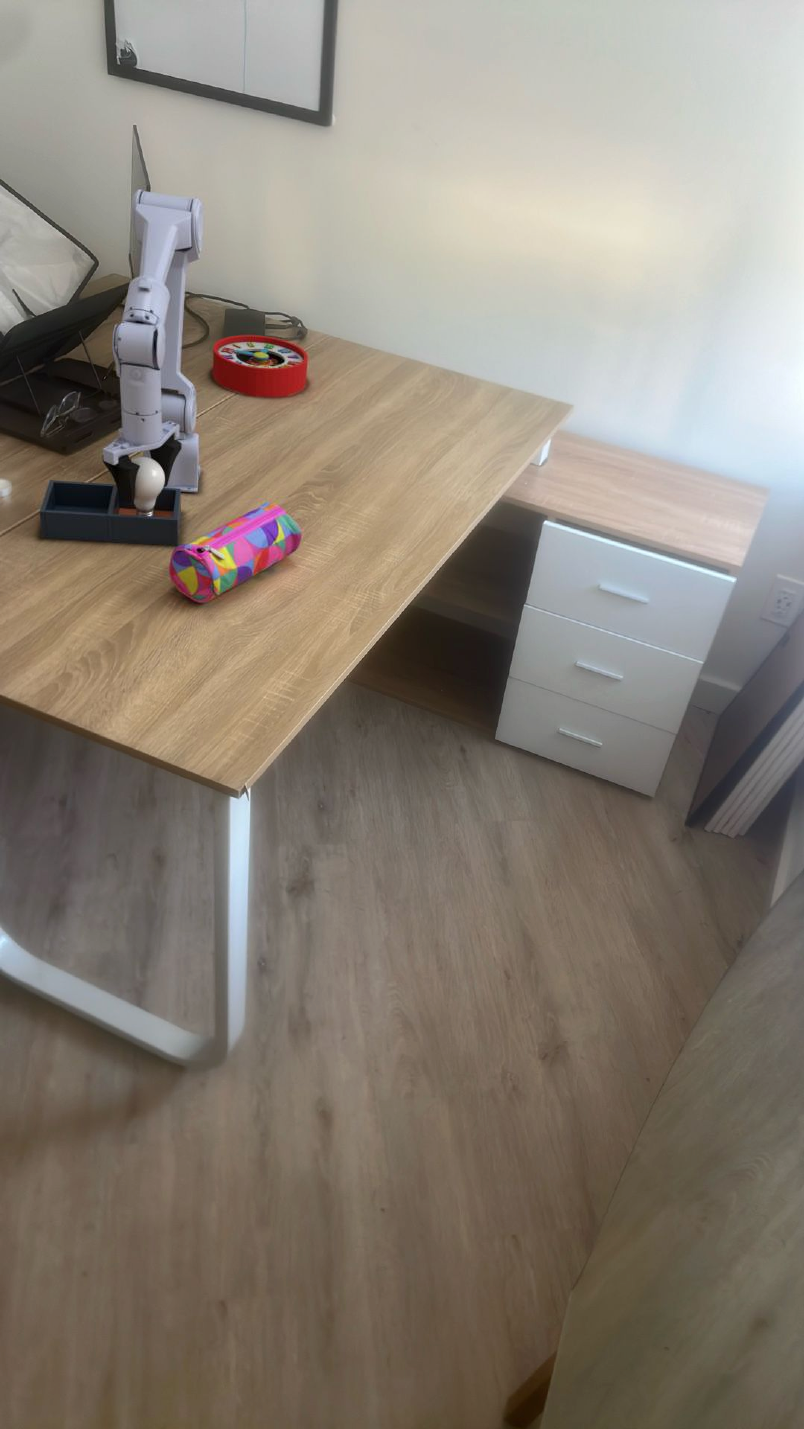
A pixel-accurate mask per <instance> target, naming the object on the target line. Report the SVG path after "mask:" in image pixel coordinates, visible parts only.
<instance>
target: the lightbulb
mask: <svg viewBox="0 0 804 1429" xmlns="http://www.w3.org/2000/svg"><path fill="white" fill-rule="evenodd" d="M131 462H133V463H135V464H138V465H140V468H139V470H138V473H137V476H136V482H135V499H134V504H135V506H136V515H137V516H153V517H154V514H153V513H154V512H153V511H154V505H155V502H156V498H157V496H158V495H159V494H160V492H161V491H162V489H163V487H164V484H165V475H164V471H163V469H162V467H161V466H160V465H159V464H158V463H157V462H156V461H155V460H153V459H151V458H149V457H143V456H135V457H134V458H131Z"/></svg>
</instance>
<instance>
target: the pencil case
mask: <svg viewBox="0 0 804 1429" xmlns="http://www.w3.org/2000/svg"><path fill="white" fill-rule="evenodd" d="M301 540H302V529H301V527H300V525H299V523H298V522H297V521H296V520H295V519H294V518H292V517H291V516H290V515H289V514H288V513H287V512H286V511H285V509H284V508H283V507H280V506H279V505H277V504H276V503H274V502H271V501H266V502H264V503H262V504H261V505H260V506H258V507H257V508H256V509H253V510H250V511H248V512H246V513H245V514H243V515H241V516H239V517H237V518H234V519H233V520H231V521H229V522H227V523H225V524H223V525H221V526H219V527H217V528H215V529H213V530H212V531H210V532H208V533H206V534H205V535H203V536H201V537H199V538H197V539H196V540H194V541H193V542H190V543H188V544H187V543H185V544H180V545H178V546H177V547H175V548H174V549H173V551H172V552H171V555H170V559H169V560H170V561H169V565H168V573H169V577H170V580H171V583H172V584H173V585H174V587H175V588H176V589H177V591H178V592H180V593H181V594H183V595H184V596H186V597H187V598H189V599H190V600H191V601H194V602H196V603H198V604H206V603H209V602H210V601H212V600H213V599H214V598H216V597H219V596H220V595H221V594H223V593H224V592H226V591H229V590H231V589H233V588H235V587H236V586H239V585H240V584H242V583H244V582H246V581H248V580H249V579H251V578H253V577H254V576H256V575H257V574H258V573H259V572H262V571H265V570H267V569H268V568H269V567H271V566H273V564H276V563H278V562H280V561H281V560H283V559H285V558H287V557H289V556H290V555H292V554H293V553H294V552H296V551H297V550H298V549H299V546H300V544H301Z"/></svg>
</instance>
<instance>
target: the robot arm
mask: <svg viewBox="0 0 804 1429" xmlns="http://www.w3.org/2000/svg"><path fill="white" fill-rule="evenodd" d="M131 223H132V229H133V231H134V233H135V236H136V239H137V243H138V244H139V246H140V250H141V255H140V266H139V275H138V276H136V277H135V278H133V279H131V281H130V283H129V285H128V288H127V289H128V290H127V293H126V300H125V303H124V304H125V306H124V310H123V314H122V318H121V323H120V324H119V323H116V324H115V325H114V329H113V331H112V332H113V333H112V354H113V361H114V363H115V371H116V377H118V378H119V391H120V410H121V412H120V413H121V428H118V429H117V430H118V435H119V436H117V437H116V438H115V439H114V440H113V441H112V442H111V443H110V444H109V445H107V446H106V447H104V448H102V456H101V457H102V463H103V464H104V465H105V467H106V468H107V470H108V471H109V473H110V475H111V477H112V479H113V481H114V483H115V484H116V486H117V489H118V492H119V495H120V498H121V500H123V501H125V502H128V503H130V504H131V503H133V502H134V499H135V482H136V476H137V473H138V470H139V468H140V465H138V464H135V463H133V462H131V460H132V458H130V456H131V455H134V454H136V453H140V452H141V453H143V456H142V457H149V458H151V459H153V460H155V461H156V462H157V463H158V464H159V465H160V466H161V467H162V469H163V471H164V475H165V484H164V487H163V488H178V489H181V492H182V493H198V489H199V479H200V478H199V477H201V465H200V434H199V433H196V432H194V431H195V429H196V423H197V413H198V410H197V409H198V408H197V390H196V387H195V385H194V384H193V383H192V382H191V381H190V380H189V379H188V378H187V377H186V376H185V375H184V374H183V373H182V372H181V365H182V364H181V362H182V347H183V346H182V345H183V329H184V328H183V327H184V314H185V313H184V310H185V293H186V278H187V273H188V269H189V267H190V264H191V263H192V262H196V261H199V260H200V257H201V253H202V250H203V231H204V208H203V203H202V201H200V199H199V198H197V197H194V198H190V197H184V196H178V195H172V194H164V193H158V192H154V191H153V192H152V191H147V190H144V189H137V190H136V192H135V193H134V195H133V196H132V202H131ZM162 389H166V390H172V391H177V392H180V393H177V392H176V393H175V392H169V391H162Z"/></svg>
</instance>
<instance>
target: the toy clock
mask: <svg viewBox="0 0 804 1429" xmlns="http://www.w3.org/2000/svg"><path fill="white" fill-rule="evenodd" d="M308 357H309V356H308V353H307V352H306V351H305V350H304V349H303V348H302V347H300V346H299V345H298V344H294V343H293V342H290V341H287V340H284V339H280V338H277V337H271V336H266V335H265V336H264V335H256V334H255V335H253V334H244V335H243V334H242V335H241V334H240V335H231V336H227V337H224V338H221V339H219V340H217V341H216V342H215V343H214V344H213V348H212V378H213V380H214V381H215V383H217V384H218V385H219V386H221V387H223V388H224V389H226V390H228V391H232V392H233V393H237V394H242V395H245V396H251V397H258V398H282V397H288V396H293V395H296V394H297V393H300V392H302V391H303V390H304V389H305V388H306V385H307V376H308V375H307V373H308V361H309V360H308V359H309V358H308Z"/></svg>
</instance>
